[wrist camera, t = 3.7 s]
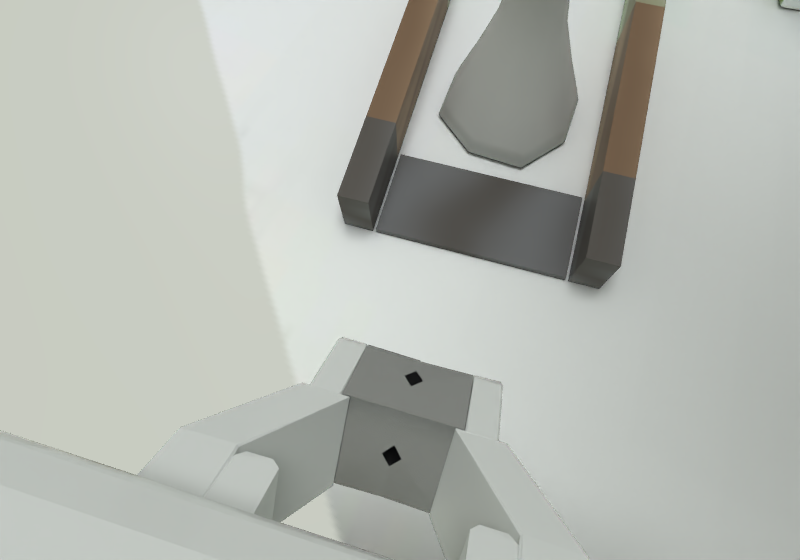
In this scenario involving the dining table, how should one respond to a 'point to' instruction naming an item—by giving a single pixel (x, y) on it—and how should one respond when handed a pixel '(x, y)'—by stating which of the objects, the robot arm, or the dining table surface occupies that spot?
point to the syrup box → (790, 4)
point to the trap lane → (495, 197)
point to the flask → (515, 84)
